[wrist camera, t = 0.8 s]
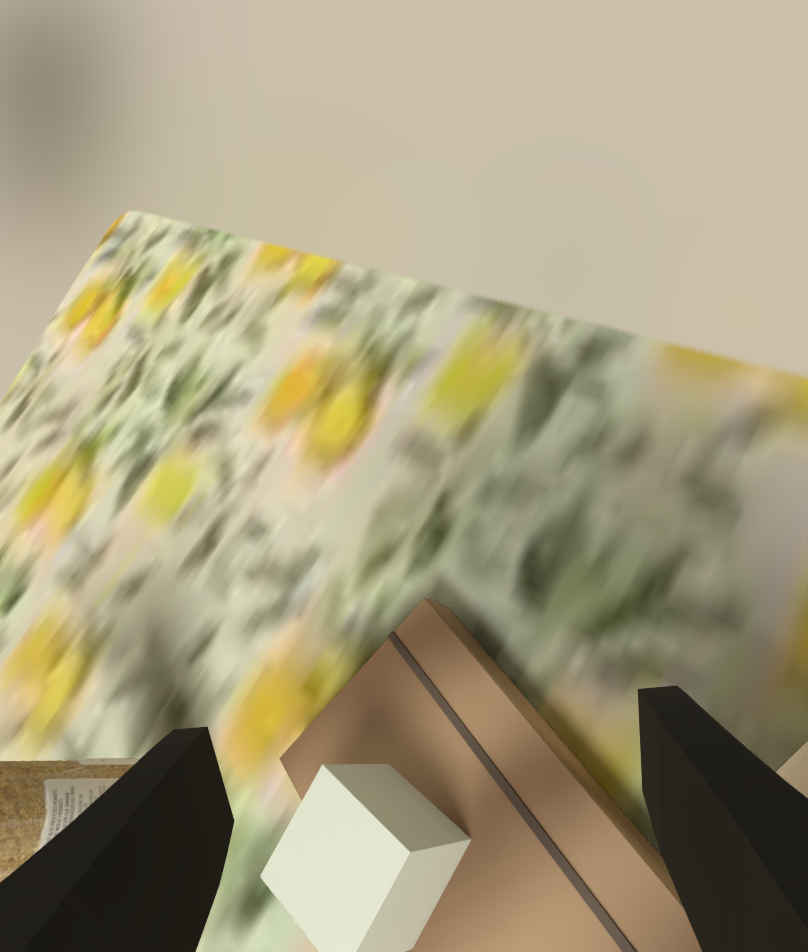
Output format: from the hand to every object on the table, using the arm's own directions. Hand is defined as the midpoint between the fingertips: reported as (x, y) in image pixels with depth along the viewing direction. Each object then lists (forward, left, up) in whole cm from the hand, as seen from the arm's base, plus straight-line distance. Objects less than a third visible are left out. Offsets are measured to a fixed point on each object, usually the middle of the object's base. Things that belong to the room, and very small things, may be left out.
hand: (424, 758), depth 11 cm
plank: (+1, +6, -14) cm, 15 cm away
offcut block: (+3, +8, -12) cm, 15 cm away
